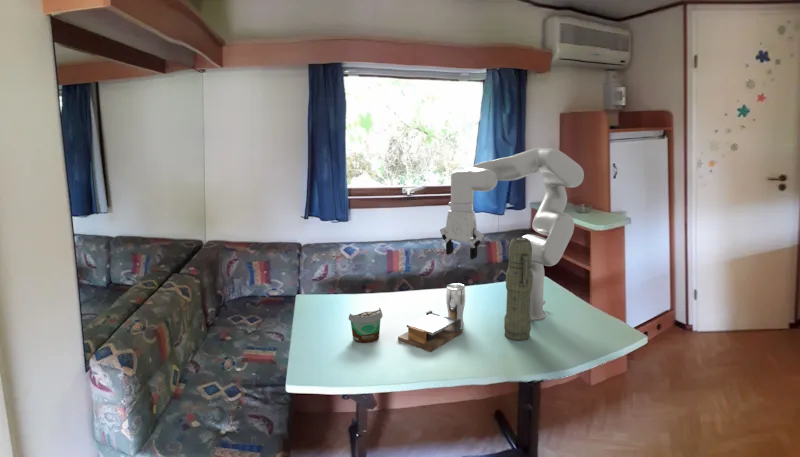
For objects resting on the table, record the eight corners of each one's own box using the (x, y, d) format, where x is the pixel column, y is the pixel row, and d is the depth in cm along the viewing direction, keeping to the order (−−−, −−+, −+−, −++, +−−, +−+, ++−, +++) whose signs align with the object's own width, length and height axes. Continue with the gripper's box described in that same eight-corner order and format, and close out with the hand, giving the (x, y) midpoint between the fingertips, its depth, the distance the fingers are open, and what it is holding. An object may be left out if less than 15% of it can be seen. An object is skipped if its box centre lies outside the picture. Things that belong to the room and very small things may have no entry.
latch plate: (430, 323, 188) (430, 308, 187) (462, 333, 179) (462, 318, 178) (398, 340, 174) (397, 325, 173) (430, 352, 165) (430, 335, 164)
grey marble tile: (432, 316, 185) (432, 312, 185) (457, 323, 178) (457, 319, 178) (406, 327, 174) (406, 323, 174) (432, 336, 167) (432, 331, 167)
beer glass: (464, 329, 183) (464, 289, 179) (445, 328, 184) (445, 288, 181) (465, 321, 189) (466, 283, 186) (447, 320, 191) (447, 282, 187)
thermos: (520, 327, 183) (524, 234, 176) (536, 341, 172) (541, 241, 165) (498, 330, 181) (500, 235, 174) (512, 344, 170) (516, 243, 162)
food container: (356, 347, 169) (355, 319, 167) (349, 341, 174) (348, 313, 172) (389, 340, 175) (388, 313, 172) (381, 333, 180) (380, 307, 178)
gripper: (434, 206, 173) (434, 254, 176) (478, 211, 162) (477, 262, 166) (447, 203, 178) (446, 250, 182) (490, 208, 167) (488, 257, 171)
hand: (461, 256), depth 174 cm, fingers open, 9 cm apart
